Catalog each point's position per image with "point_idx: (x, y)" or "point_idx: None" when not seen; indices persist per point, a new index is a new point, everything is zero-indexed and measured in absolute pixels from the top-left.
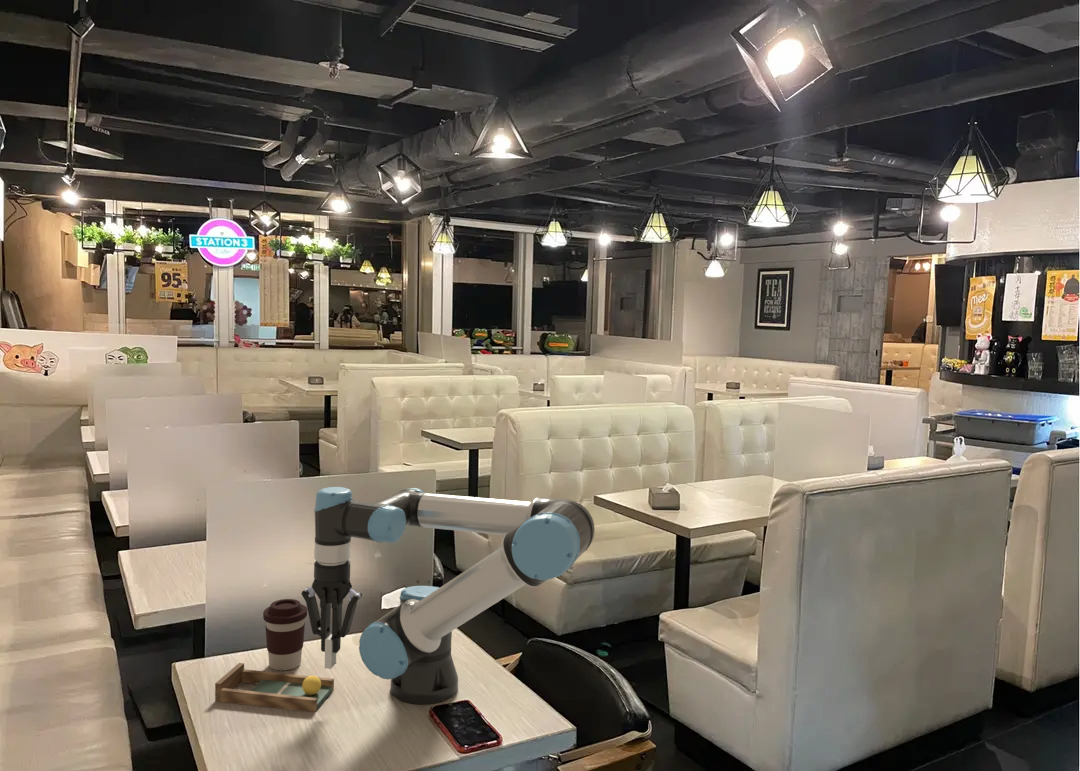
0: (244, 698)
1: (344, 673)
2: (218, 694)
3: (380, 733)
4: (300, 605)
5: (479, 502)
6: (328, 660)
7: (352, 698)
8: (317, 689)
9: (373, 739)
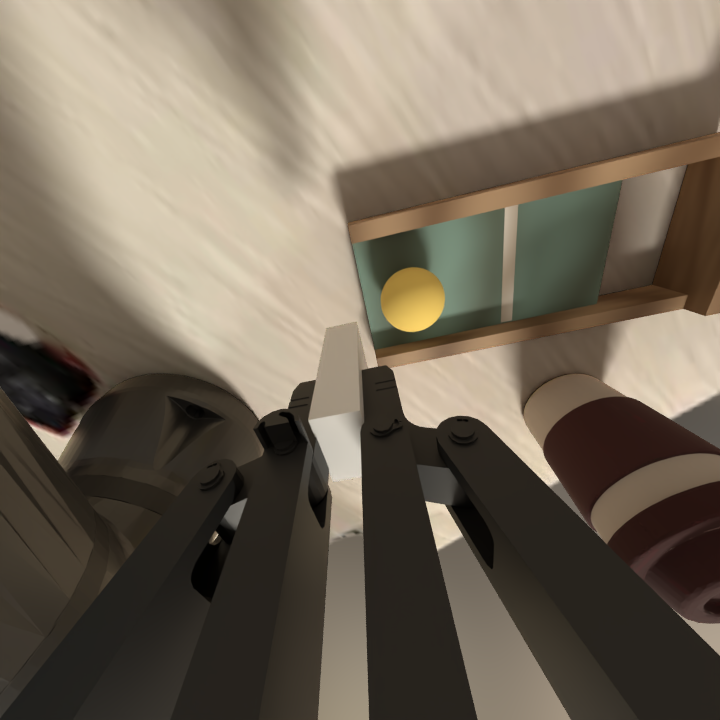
0: (618, 158)
1: None
2: None
3: (71, 195)
4: (673, 603)
5: None
6: (337, 341)
7: (302, 337)
8: (382, 290)
9: (51, 145)
